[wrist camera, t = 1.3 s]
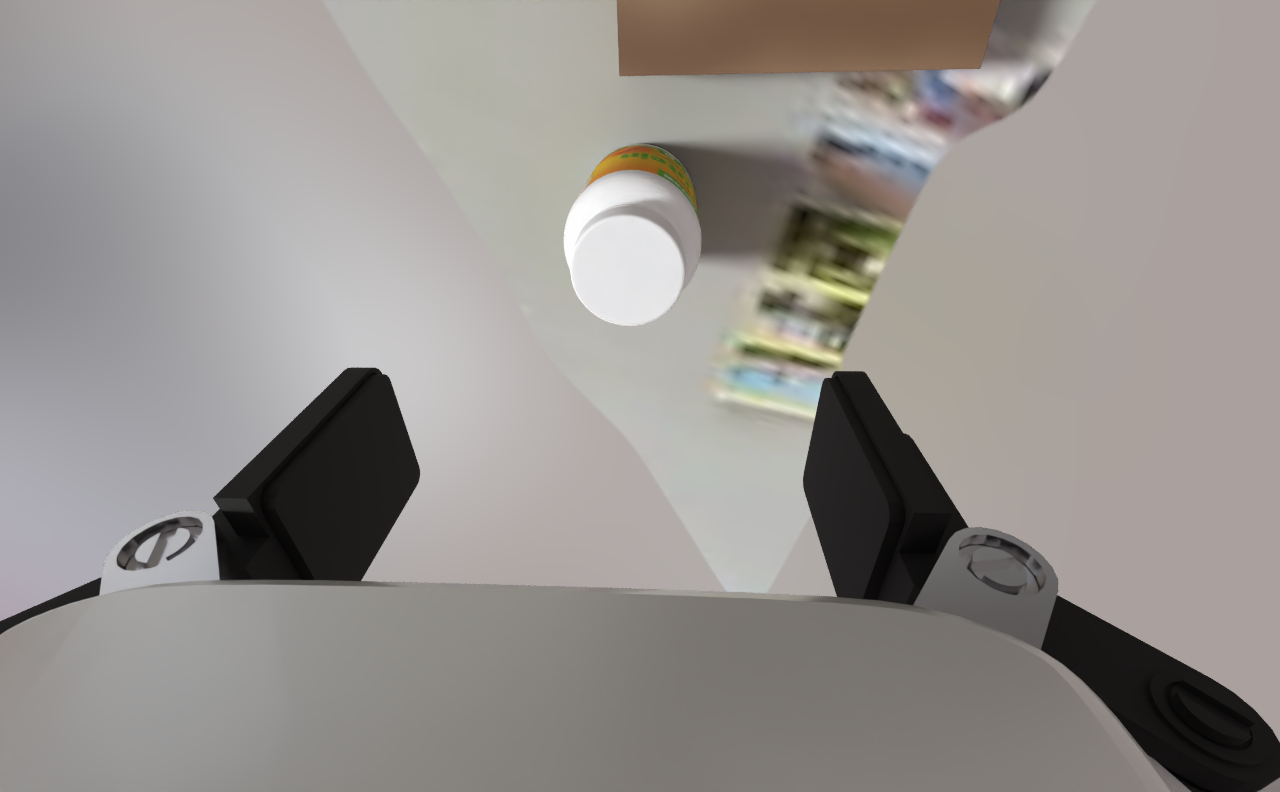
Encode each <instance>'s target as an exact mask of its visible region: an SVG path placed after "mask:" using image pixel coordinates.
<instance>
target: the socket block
mask: <svg viewBox="0 0 1280 792" xmlns="http://www.w3.org/2000/svg"><path fill="white" fill-rule="evenodd" d="M999 3H1000V0H617V18H618V46H619V74H620V76H646V75H694V74H743V73H791V72H840V71H888V70H937V69H980V67H981V64H982V60H983V57H984V54H985V50H986V47H987V44H988V40H989V37H990V33H991V30H992V27H993V23H994V20H995V17H996V13H997V10H998V6H999Z"/></svg>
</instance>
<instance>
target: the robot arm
mask: <svg viewBox="0 0 1280 792" xmlns="http://www.w3.org/2000/svg"><path fill="white" fill-rule="evenodd" d="M419 478H420V469H419V465H418V462H417V459H416V456H415V453H414V450H413V447H412V444H411V441H410V438H409V435H408V432H407V429H406V426H405V423H404V420H403V417H402V414H401V411H400V408H399V405H398V402H397V399H396V396H395V393H394V390H393V387H392V384H391V381H390V379H389V377H388V376H387V375H384V374H382V373H381V371H380V370H379V369H377V368H347V369H346V370H344V371H343V372H342V373H341V374H340V375H339V376H338V377H337V378H336V379H335V380H334V381H333V382H332V383H331V384H330V385H329V386H328V387H327V388H326V389H325V390H324V391H323V392H322V393H321V394H320V395H319V396H318V397H317V398H315V399H314V400H313V402H311V404H309V405H308V406H307V407H306V408H305V409H304V410H303V411H302V412H301V413H300V414H299V415H298V416H297V417H296V418H295V419H294V420H293V421H292V422H291V423H290V424H289V425H288V426H287V427H286V428H285V429H284V430H282V432H281V433H279V435H277V436H276V437H275V438H274V439H273V440H272V441H271V442H270V443H269V444H268V445H267V446H266V447H265V448H264V449H263V450H262V451H261V452H260V453H259V454H258V455H257V456H256V457H255V458H254V459H253V460H252V461H251V462H250V463H248V465H246V466H245V467H244V468H243V469H242V470H241V471H240V472H239V473H238V474H237V475H236V476H235V477H234V478H233V479H232V480H231V481H230V482H229V483H228V484H227V485H226V486H225V487H224V488H223V489H222V490H221V491H220V492H219V493H218V494H217V495H216V496H214V497H213V499H214V500H215V502H216V503H217V505H218V507H219V508H220V509H219V510H218V511H217V512H216V513H215V514H214V515H213V516H211V515H210V514H208V513H206V512H204V511H198V510H188V511H181V512H175V513H172V514H169V515H165V516H162V517H160V518H157V519H155V520H153V521H150V522H148V523H146V524H144V525H142V526H141V527H139V528H137V529H136V530H134V531H133V532H131V533H129V534H128V535H127V536H126V537H124V538H123V539H122V540H121V541H119V542H118V543H117V544H116V545H115V546H114V547H113V549H112V550H111V551H110V552H109V553H108V555H107V557H106V559H105V562H104V564H103V571H102V577H101V578H98V579H96V580H94V581H91V582H89V583H87V584H85V585H83V586H81V587H78V588H75V589H73V590H71V591H69V592H66V593H64V594H62V595H60V596H57V597H55V598H53V599H50V600H48V601H46V602H44V603H41V604H39V605H37V606H34V607H32V608H30V609H27V610H25V611H23V612H21V613H18V614H16V615H14V616H12V617H9V618H7V619H5V620H2V621H0V792H1280V742H1279V741H1278V739H1277V737H1276V736H1275V734H1274V732H1273V730H1272V729H1271V728H1270V727H1269V726H1268V724H1267V723H1266V722H1265V721H1264V720H1263V719H1262V718H1261V717H1260V715H1259V714H1258V713H1257V712H1256V711H1255V710H1254V709H1253V708H1252V707H1250V706H1249V705H1248V704H1247V703H1246V702H1244V701H1243V700H1242V699H1241V698H1240V697H1238V696H1237V695H1236V694H1235V693H1233V692H1232V691H1230V690H1229V689H1227V688H1226V687H1224V686H1222V685H1221V684H1219V683H1218V682H1216V681H1215V680H1213V679H1211V678H1209V677H1208V676H1206V675H1204V674H1202V673H1200V672H1198V671H1197V670H1195V669H1193V668H1191V667H1189V666H1187V665H1185V664H1184V663H1182V662H1180V661H1178V660H1176V659H1174V658H1173V657H1170V656H1169V655H1167V654H1165V653H1163V652H1161V651H1160V650H1158V649H1156V648H1154V647H1152V646H1150V645H1148V644H1147V643H1145V642H1143V641H1141V640H1139V639H1137V638H1136V637H1134V636H1131V635H1130V634H1128V633H1126V632H1124V631H1123V630H1121V629H1119V628H1117V627H1115V626H1113V625H1111V624H1110V623H1108V622H1106V621H1104V620H1102V619H1100V618H1098V617H1097V616H1095V615H1093V614H1091V613H1089V612H1087V611H1086V610H1084V609H1082V608H1080V607H1078V606H1076V605H1074V604H1073V603H1071V602H1069V601H1067V600H1065V599H1063V598H1062V597H1060V596H1058V595H1057V593H1058V578H1057V576H1056V574H1055V572H1054V570H1053V568H1052V566H1051V565H1050V564H1049V563H1048V562H1047V561H1046V559H1045V558H1044V557H1043V556H1042V555H1041V554H1040V553H1039V552H1037V551H1036V550H1035V549H1033V548H1032V547H1031V546H1030V545H1028V544H1027V543H1025V542H1023V541H1021V540H1019V539H1017V538H1016V537H1014V536H1012V535H1009V534H1006V533H1003V532H1001V531H998V530H993V529H988V528H982V527H975V528H969V527H968V526H967V524H966V523H965V521H964V519H963V518H962V516H961V515H960V513H959V511H958V510H957V509H956V507H955V505H954V504H953V502H952V500H951V499H950V497H949V496H948V494H947V493H946V491H945V489H944V488H943V486H942V485H941V483H940V482H939V480H938V478H937V477H936V475H935V474H934V472H933V471H932V469H931V467H930V466H929V464H928V463H927V461H926V460H925V458H924V456H923V455H922V453H921V452H920V450H919V448H918V447H917V445H916V444H915V442H914V441H913V439H912V438H911V437H910V436H909V435H907V434H904V433H903V432H902V431H901V429H900V427H899V426H898V424H897V423H896V421H895V419H894V418H893V416H892V415H891V413H890V411H889V410H888V408H887V406H886V405H885V403H884V402H883V400H882V399H881V397H880V395H879V394H878V392H877V390H876V389H875V387H874V385H873V384H872V382H871V381H870V379H869V377H868V376H867V374H866V373H865V372H861V371H854V372H853V371H836V372H834V374H833V375H832V378H825V379H824V381H823V383H822V388H821V392H820V397H819V402H818V407H817V412H816V417H815V421H814V426H813V431H812V436H811V441H810V446H809V451H808V455H807V460H806V465H805V470H804V476H803V486H804V492H805V495H806V498H807V501H808V505H809V508H810V511H811V514H812V518H813V521H814V524H815V527H816V530H817V534H818V537H819V540H820V543H821V546H822V550H823V553H824V556H825V559H826V563H827V566H828V569H829V572H830V576H831V579H832V582H833V585H834V588H835V592H836V594H837V597H828V596H810V595H789V594H767V593H747V592H716V591H688V590H660V589H630V588H628V589H627V588H599V587H597V588H596V587H565V586H564V587H563V586H562V587H561V586H530V585H527V586H526V585H495V584H494V585H493V584H492V585H491V584H459V583H417V582H415V583H413V582H373V581H370V582H369V581H361V580H362V578H363V576H364V575H365V573H366V571H367V570H368V568H369V566H370V565H371V563H372V561H373V559H374V558H375V556H376V554H377V553H378V551H379V549H380V547H381V546H382V544H383V542H384V541H385V539H386V537H387V535H388V534H389V532H390V530H391V528H392V527H393V525H394V524H395V522H396V520H397V518H398V517H399V515H400V513H401V512H402V510H403V508H404V507H405V505H406V503H407V501H408V500H409V498H410V496H411V495H412V493H413V491H414V489H415V488H416V486H417V484H418V482H419Z"/></svg>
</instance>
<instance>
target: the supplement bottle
mask: <svg viewBox="0 0 1280 792" xmlns="http://www.w3.org/2000/svg"><path fill="white" fill-rule="evenodd" d="M564 250H565V255H566V259H567V263H568V266H569V268H570V274H571V280H572V284H573V287H574V290H575V292H576V294H577V296H578V297H579V299H580V300H581V302H582V303H583V304H584V305H585V307H586V308H587V309H588V310H590V311H591V312H592V313H593V314H595V315H596V316H598V317H599V318H601V319H603V320H605V321H607V322H610V323H613V324H617V325H623V326H635V325H642V324H646V323H649V322H652V321H654V320H656V319H658V318H659V317H661V316H662V315H664V314H665V313H666V312H667V311H668V310H669V309H671V308H672V306H673V305H674V304H675V302H676V301H677V299H678V298H679V296H680V294H681V292H682V290H683V289H684V288H685V287H686V286H687V285H688V283H689V282H690V280H691V279H692V277H693V275H694V273H695V271H696V269H697V266H698V263H699V259H700V254H701V228H700V222H699V217H698V210H697V204H696V196H695V191H694V187H693V184H692V181H691V178H690V176H689V174H688V172H687V171H686V169H685V167H684V166H683V165H682V164H681V162H680V161H679V160H678V159H677V158H675V157H674V156H673V155H672V154H670V153H669V152H667V151H666V150H664V149H662V148H659V147H657V146H653V145H649V144H631V145H627V146H623V147H621V148H618V149H616V150H614V151H613V152H611V153H610V154H608V155H607V156H606V157H605V158H604V159H603V160H602V161H601V162H600V163H599V164H598V166H597V167H596V168H595V170H594V171H593V173H592V175H591V176H590V178H589V180H588V181H587V183H586V185H585V186H584V188H583V190H582V191H581V193H580V195H579V196H578V198H577V199H576V201H575V202H574V204H573V206H572V208H571V210H570V212H569V215H568V218H567V221H566V225H565V231H564Z"/></svg>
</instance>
